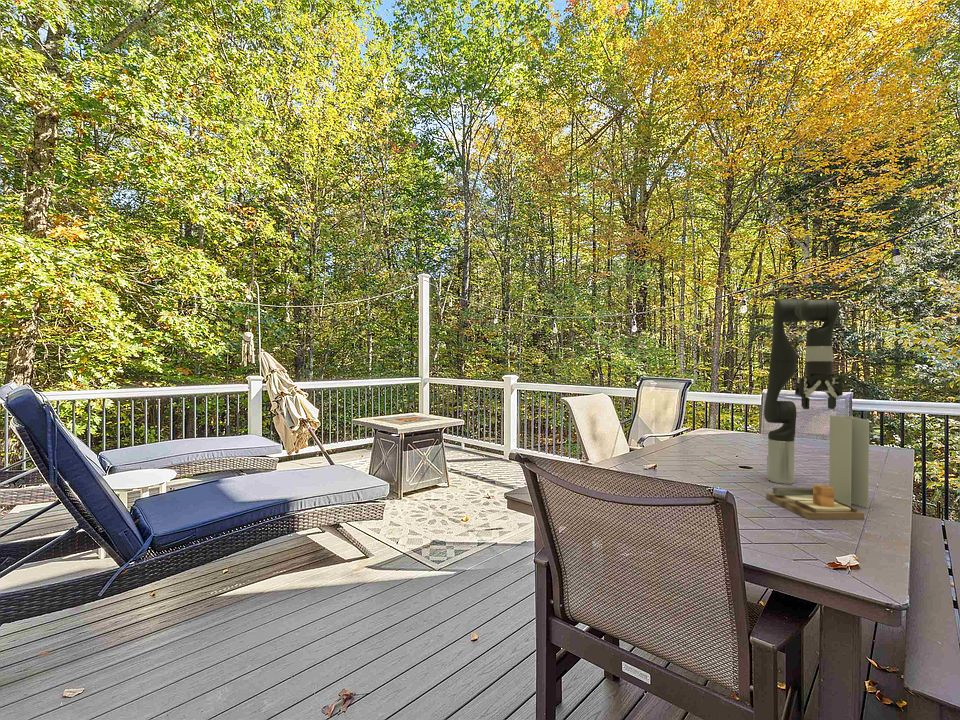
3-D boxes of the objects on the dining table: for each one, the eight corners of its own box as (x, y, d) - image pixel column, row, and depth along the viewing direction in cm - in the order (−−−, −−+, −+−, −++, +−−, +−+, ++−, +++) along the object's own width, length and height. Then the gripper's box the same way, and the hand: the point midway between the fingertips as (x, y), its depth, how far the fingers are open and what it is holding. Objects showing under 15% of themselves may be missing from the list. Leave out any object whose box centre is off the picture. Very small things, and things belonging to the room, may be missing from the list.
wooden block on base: (797, 503, 163) (797, 483, 163) (832, 503, 163) (832, 483, 163) (814, 511, 155) (814, 490, 155) (850, 510, 155) (851, 489, 155)
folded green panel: (868, 508, 164) (869, 420, 164) (850, 507, 165) (851, 420, 165) (845, 496, 178) (846, 415, 178) (829, 495, 179) (829, 415, 179)
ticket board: (766, 498, 175) (766, 485, 175) (815, 498, 176) (815, 485, 176) (808, 519, 153) (808, 504, 153) (864, 519, 154) (864, 504, 154)
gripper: (831, 360, 164) (831, 407, 164) (790, 360, 164) (789, 407, 164) (848, 360, 157) (848, 410, 157) (805, 360, 156) (805, 410, 156)
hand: (818, 408), depth 160 cm, fingers open, 8 cm apart
